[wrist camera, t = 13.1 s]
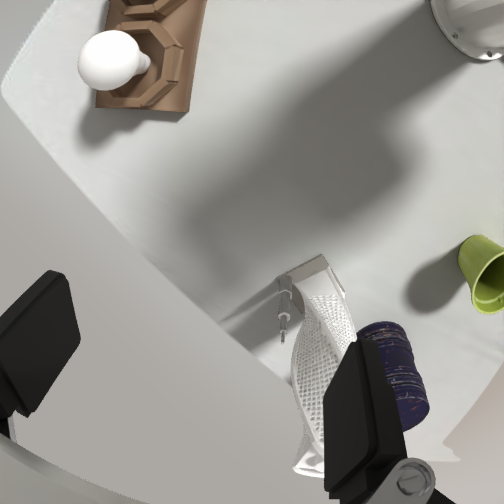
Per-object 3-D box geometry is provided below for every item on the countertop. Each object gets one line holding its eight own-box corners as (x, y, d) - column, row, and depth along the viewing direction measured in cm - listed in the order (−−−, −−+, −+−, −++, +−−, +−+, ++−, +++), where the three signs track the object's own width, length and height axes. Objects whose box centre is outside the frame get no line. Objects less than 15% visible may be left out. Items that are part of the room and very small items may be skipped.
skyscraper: (331, 248, 41) (365, 451, 16) (357, 292, 43) (395, 481, 19) (276, 277, 44) (254, 476, 19) (305, 317, 46) (304, 502, 22)
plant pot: (436, 256, 39) (460, 290, 32) (480, 210, 35) (512, 236, 28) (465, 290, 41) (488, 325, 34) (505, 249, 37) (534, 279, 30)
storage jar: (339, 337, 48) (348, 415, 34) (396, 310, 44) (423, 386, 31) (361, 371, 51) (372, 443, 38) (412, 349, 47) (435, 419, 34)
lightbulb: (147, 30, 28) (96, 14, 19) (178, 63, 30) (134, 53, 20) (112, 66, 31) (55, 64, 21) (141, 99, 32) (88, 105, 23)
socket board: (218, -50, 24) (208, -66, 20) (188, 111, 35) (174, 114, 30) (129, -43, 24) (111, -54, 20) (103, 106, 35) (82, 109, 31)
